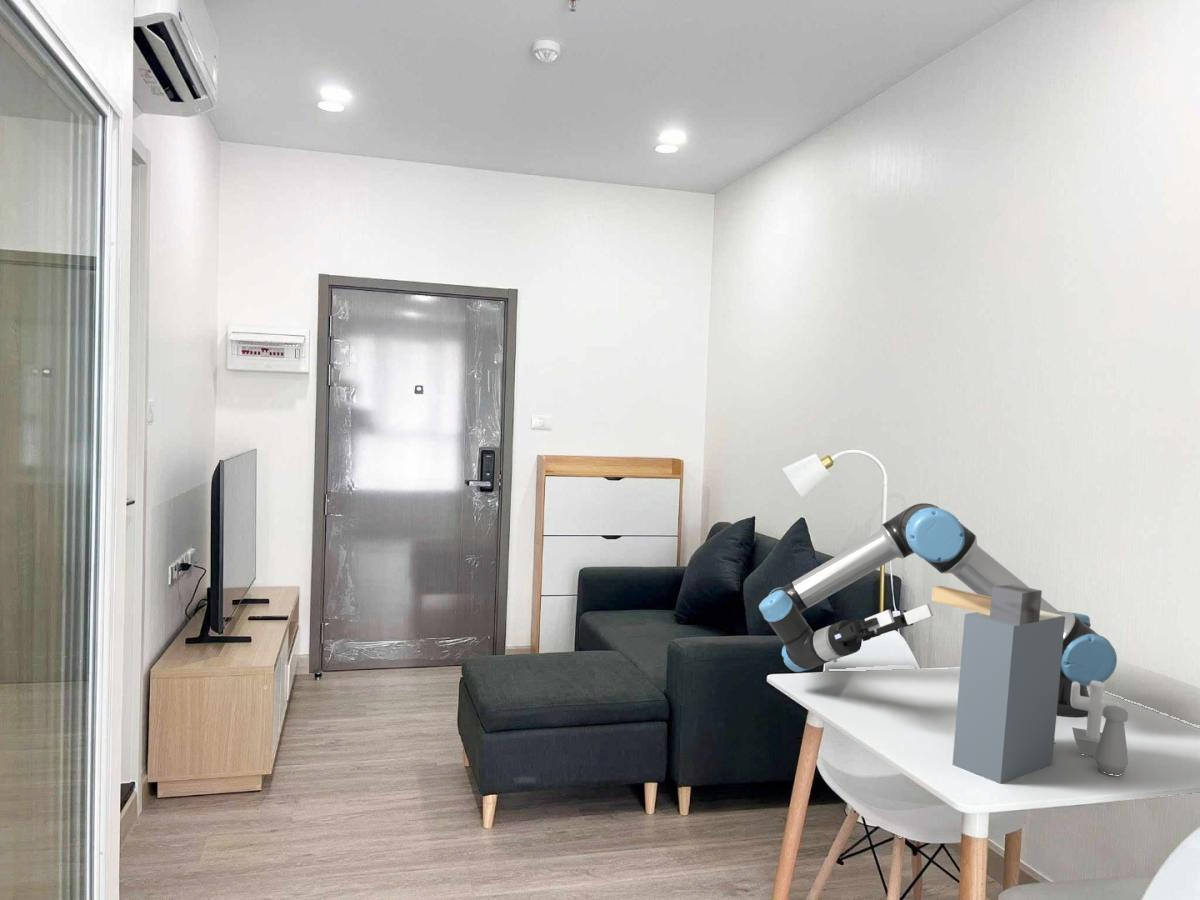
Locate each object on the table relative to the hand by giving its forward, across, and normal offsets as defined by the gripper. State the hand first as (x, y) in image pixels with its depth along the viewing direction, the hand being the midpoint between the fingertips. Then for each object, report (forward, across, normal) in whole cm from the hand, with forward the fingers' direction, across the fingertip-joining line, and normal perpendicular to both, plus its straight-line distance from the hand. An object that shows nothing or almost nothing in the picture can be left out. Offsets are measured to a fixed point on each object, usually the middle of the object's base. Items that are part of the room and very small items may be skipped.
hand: (911, 612), depth 194 cm
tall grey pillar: (+5, -4, -33) cm, 34 cm away
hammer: (+15, 0, -4) cm, 16 cm away
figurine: (+10, -28, -36) cm, 46 cm away
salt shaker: (+16, -21, -40) cm, 47 cm away
